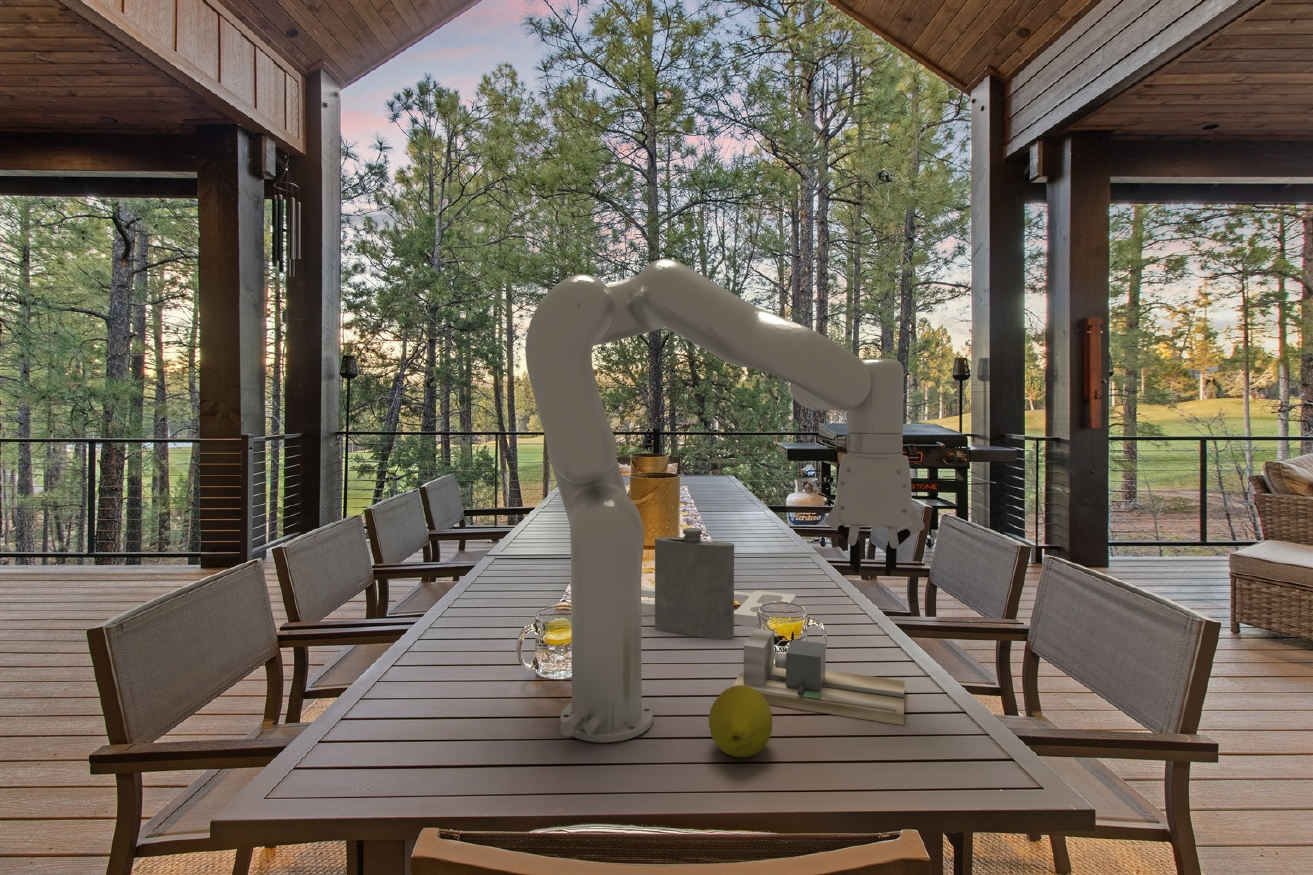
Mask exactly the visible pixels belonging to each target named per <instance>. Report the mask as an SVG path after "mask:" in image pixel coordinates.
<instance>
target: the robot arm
mask: <svg viewBox="0 0 1313 875" xmlns="http://www.w3.org/2000/svg"><path fill="white" fill-rule="evenodd" d="M661 329H666V330H669V331H670V332H673V333H674V334H676V335H678V336H680V337H682V338H684V339H685V340H687V341H688V342H690V343H692V344H694V345H696V346H697V347H699V348H701V349H702V350H704V351H706V352H708V353H710V354H711V355H713V356H715V357H716V358H718V359H720V360H722V361H723V362H726V363H729V364H731V365H735V366H737V367H742V368H746V369H747V368H748V369H752V370H756V371H757V370H758V371H760V372H764V373H767V374H769V375H770V374H771V375H773V376H775V377H777V378H780V379H783V380H785V381H786V382H789V390H790V394H791V396H792V398H793V399H794V401H795V402H797V403H798V404H799V405H800V406H802V407H804V408H805V409H808V410H811V411H820V412H822V411H823V412H824V411H826V412H827V411H847V433H846V435H844V436H842V437H841V436H840V437H839V436H838V437H837V439H836V441H837V442H836V445H837V447H842V448H845V449H846V452H847V453H845V454H844V453H843V454H842V455H841V457H840V461H839V466H838V476H837V487H836V503H835V504H834V506H833V507H832V509H831V510H830V512H829V513H828V515H827V516H826V517H825V520H824V523H825V524H826V525H827V526H829V527H830V528H832V529H833V530H835V531H836V532H838V534H840V536H842V538H843V539H844V540H845V541H846V542H847V543H848V545H849V566H850V567H854V570H853V571H854V574H860V573H861V569H862V543H861V542H860V540H861V539H860V538H859V534H860V533H859V532H860V527H877V528H878V527H879V528H880V527H881V528H886V530H887V536H888V540H887V545H885V576H887V577H891V576H892V570H897V560H898V559H897V558H898V557H897V556H898V555H897V553H898V549H897V548H898V547H899V546H900V545H901V544H902V543H904V542H905V541H906V540H907V539H908V538H910V537H911V536H913V535H916V534H918V533H919V532H922V531H923V530H924V529H925V524H924V522H923V520H922V519H921V517H920V515H919V514H918V512H917V511H916V508H915V507H914V505H913V503H912V502H913V500H912V498H913V497H912V475H911V467H910V461H909V457H908V455H904V454H903V447H904V446H903V442H904V441H903V437H904V434H903V433H904V430H903V429H904V388H905V387H904V384H905V383H904V382H905V381H904V380H905V376H904V374H905V373H904V372H905V371H904V366H903V364H902V363H901V361H899V360H897V359H893V358H865V359H864V358H863V359H861V358H860V357H859V356H857V355H856V354H855V353H854V352H852V351H850V350H848V349H847V348H845V347H843V346H842V345H840V344H839V343H837V342H835V341H834V340H832V339H830V338H828V337H827V336H825V335H823V334H822V333H820V332H818V331H816V330H814V329H811V328H809V327H807V326H805V325H802V324H801V323H797V322H796V321H792V320H789V319H787V318H784V317H782V316H780V315H778V314H776V313H773V312H771V311H768V310H765V309H762V308H760V307H758V306H755V305H754V304H751V303H750V302H748V301H747V300H745V299H743V298H741V297H740V296H738V295H736V294H734V293H733V292H731V291H729V290H728V289H726V288H725V287H723V286H721V285H720V284H717V283H716V282H714V281H712V280H711V279H709V278H708V277H706V276H704V275H703V274H701V273H699V272H698V271H696V270H694V269H692V268H691V267H689V266H687V265H686V264H683V263H682V262H680V261H677V260H674V259H671V258H660V259H657V260H654V261H652V262H650V263H649V264H648V265H646V266H645V267H644V268H643V269H641V271H640V273H638V274H636V275H635V276H631V277H628V278H625V279H620V280H616V281H613V282H609V283H608V282H607V283H604V282H603V281H602V280H601V279H599V278H598V277H597V276H596V277H595V276H593V275H589V274H581V273H579V274H574V275H571V276H569V277H566V278H564V279H563V280H561V281H560V282H559V283H557V284H555V285H554V286H553V287H552V288H551V289H550V290H549V292H548V293H546V295H545V296H543V299H541V301H540V302H539V304H538V305H537V307H536V309H535V310H534V313H533V314H532V317H531V320H530V321H529V325H528V329H527V331H526V332H527V333H526V338H525V352H524V353H525V364H526V369H527V376H528V379H529V383H530V387H531V390H532V393H533V398H534V401H535V405H536V406H535V407H536V410H537V412H538V417H539V419H540V420H539V421H540V423H541V427H542V430H543V433H544V438H545V441H546V453H547V457H548V461H549V463H550V465H551V468H552V471H553V475H554V477H555V480H556V484H557V488H558V490H559V491H558V492H559V494H560V496H561V500H562V504H563V507H564V510H565V513H566V516H567V521H568V523H569V532H570V533H569V534H570V613H571V614H570V616H571V618H570V621H571V623H570V626H571V627H570V628H571V629H570V630H571V634H570V637H571V645H570V646H571V648H570V649H571V702H570V703H569V704H567V705H566V706H565V707H564V708H562V711H561V712H560V717H559V718H560V720H559V721H560V726H559V730H560V733H561V735H563V736H564V737H567V738H568V737H573V738H575V739H577V740H581V741H583V742H584V741H586V742H592V743H603V744H604V743H615V742H617V743H618V742H622V741H623V742H624V741H625V740H627V741H628V740H631V739H634V738H636V737H638V736H640V735H642V734H644V733H645V732H646V731H648V730H649V729H650V727H652V724H653V721H654V712H653V709H652V707H651V706H650V705H649V704H648V703H647V702H645V701H644V700H642V698H643V696H642V695H643V694H642V687H643V686H642V683H643V682H642V672H643V671H642V664H643V663H642V661H643V660H642V653H643V652H642V623H643V622H642V621H643V620H642V614H643V613H641V587H642V576H643V575H642V572H643V558H644V547H645V534H644V533H645V532H644V524H643V519H642V517H641V513H640V511H639V509H638V508H637V506H636V504H635V503H634V502H633V500H631V499H630V497H629V494H628V492H627V488H626V485H625V482H624V479H623V475H622V472H621V469H620V465H619V461H618V457H617V455H618V454H617V453H618V448H617V447H618V446H617V440H616V436H615V435H614V432H613V431H612V428H611V426H610V422H609V419H608V417H607V413H606V410H605V408H604V404H603V400H602V397H601V395H600V390H599V386H598V382H597V378H596V374H595V371H594V366H593V348H594V347H596V346H599V345H603V344H608V343H611V342H615V341H620V340H625V339H628V338H633V337H636V336H640V335H646V334H648V333H651V332H655V331H657V330H658V331H659V330H661ZM910 523H911V524H910ZM847 525H849V527H848V526H847ZM898 528H901V530H899V531H898Z"/></svg>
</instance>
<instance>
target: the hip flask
mask: <svg viewBox="0 0 1313 875" xmlns="http://www.w3.org/2000/svg"><path fill="white" fill-rule="evenodd" d="M682 534H683V535H684V536H683V537H682V536H681V537H679V536H671V537H667V536H661V537H660V536H658V537H655V538H654V589H655V615H654V628H655V629H656V630H658V631H662V632H667V633H670V634H677V635H682V636H689V637H694V638H697V637H698V638H704V639H714V640H724V641H725V640H732V639H734V638H735V625H734V610H735V604H734V591H735V544H734V543H733V542H725V541H724V542H721V541H708V540H707V541H704V540H701V539H702V536H701V535H702V534H703V529H702V528H700V527H699V528H696V527H695V528H694V527H686V528H683V529H682Z"/></svg>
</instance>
